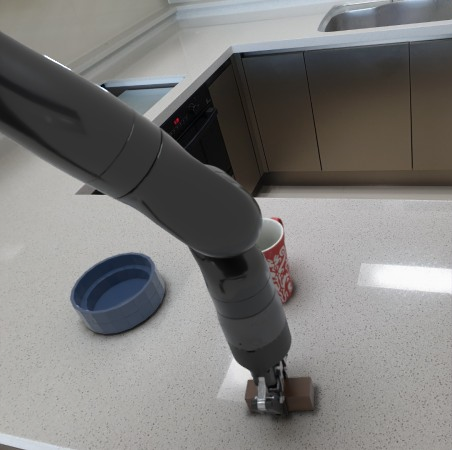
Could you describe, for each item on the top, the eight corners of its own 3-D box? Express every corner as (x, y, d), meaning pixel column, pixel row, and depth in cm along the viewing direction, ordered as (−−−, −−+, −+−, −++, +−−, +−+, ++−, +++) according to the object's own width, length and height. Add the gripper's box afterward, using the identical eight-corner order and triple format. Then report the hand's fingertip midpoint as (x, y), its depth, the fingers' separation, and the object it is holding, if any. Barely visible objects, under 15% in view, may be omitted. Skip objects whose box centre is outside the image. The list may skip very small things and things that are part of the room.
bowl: (116, 348, 78) (101, 326, 74) (70, 316, 86) (54, 294, 83) (182, 290, 87) (171, 267, 83) (134, 265, 95) (122, 243, 91)
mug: (286, 316, 77) (269, 257, 69) (239, 307, 81) (218, 249, 72) (312, 265, 86) (300, 207, 78) (269, 258, 89) (253, 202, 81)
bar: (250, 412, 64) (244, 399, 62) (253, 392, 67) (247, 379, 65) (313, 410, 63) (309, 396, 61) (314, 390, 65) (310, 376, 63)
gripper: (233, 281, 60) (262, 360, 71) (211, 374, 49) (249, 451, 60) (289, 276, 59) (310, 357, 70) (279, 371, 48) (306, 450, 59)
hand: (282, 400), depth 65 cm, fingers closed on bar, 3 cm apart
